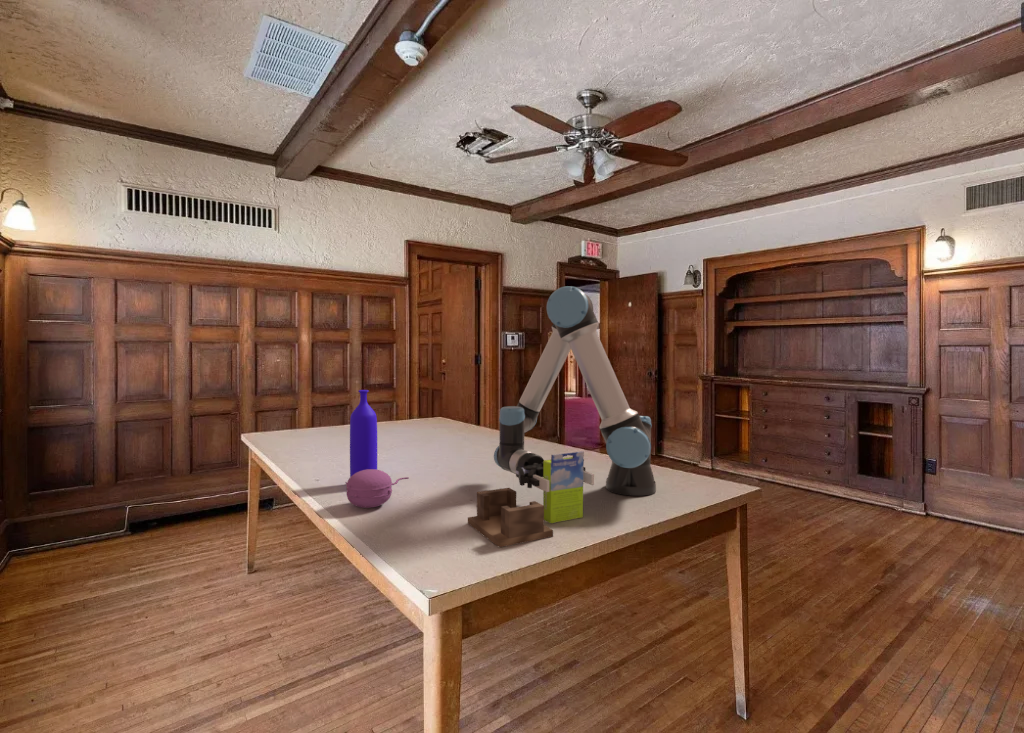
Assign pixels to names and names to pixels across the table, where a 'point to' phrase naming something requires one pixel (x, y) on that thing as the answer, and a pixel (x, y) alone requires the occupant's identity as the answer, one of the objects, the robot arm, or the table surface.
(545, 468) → the box
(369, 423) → the bottle
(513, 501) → the slot stand
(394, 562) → the table surface
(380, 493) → the pink toy mouse
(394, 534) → the table surface
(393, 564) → the table surface
